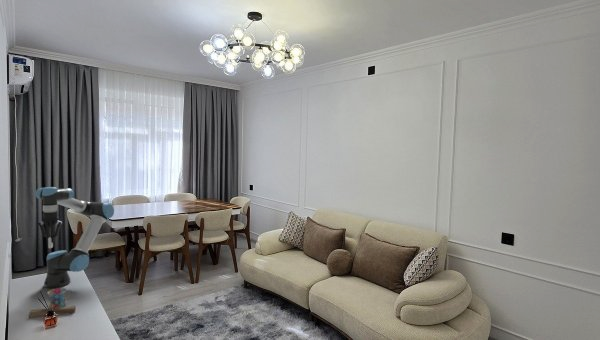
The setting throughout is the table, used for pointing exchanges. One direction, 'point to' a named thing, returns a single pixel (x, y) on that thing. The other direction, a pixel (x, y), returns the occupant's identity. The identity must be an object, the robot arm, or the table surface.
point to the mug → (57, 297)
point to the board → (57, 310)
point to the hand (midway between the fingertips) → (50, 247)
